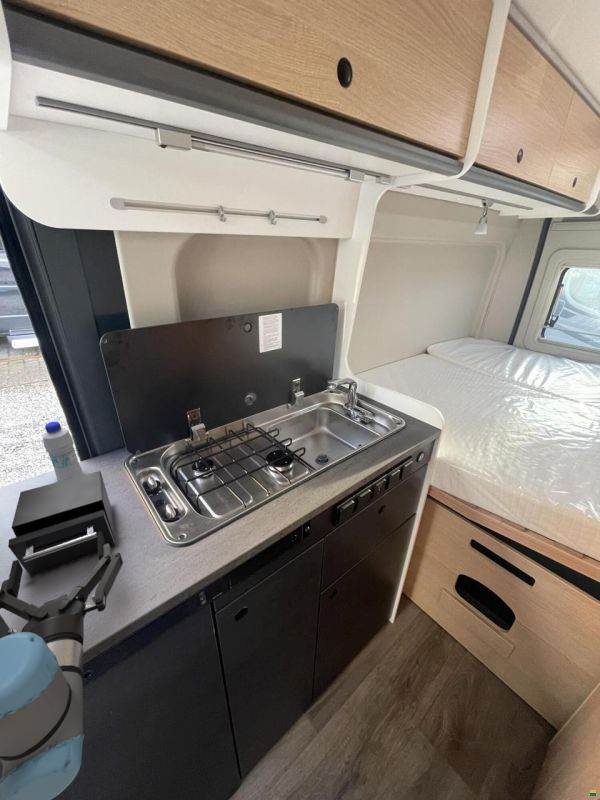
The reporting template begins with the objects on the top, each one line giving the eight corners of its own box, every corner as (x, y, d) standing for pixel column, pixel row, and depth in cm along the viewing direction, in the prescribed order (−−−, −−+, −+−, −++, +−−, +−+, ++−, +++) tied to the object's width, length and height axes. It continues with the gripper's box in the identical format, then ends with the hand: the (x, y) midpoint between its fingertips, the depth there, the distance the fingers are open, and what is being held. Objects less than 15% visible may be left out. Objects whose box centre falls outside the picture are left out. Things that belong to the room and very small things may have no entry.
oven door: (117, 558, 75) (105, 527, 68) (30, 591, 68) (6, 561, 60) (115, 541, 78) (103, 509, 71) (31, 571, 71) (8, 539, 63)
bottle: (82, 485, 96) (63, 426, 88) (55, 490, 94) (33, 430, 86) (86, 471, 102) (68, 415, 94) (61, 476, 100) (40, 419, 91)
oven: (115, 541, 78) (102, 499, 73) (32, 571, 71) (11, 527, 65) (112, 509, 88) (100, 470, 82) (38, 533, 80) (20, 491, 75)
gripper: (-52, 724, 44) (-14, 592, 60) (148, 627, 55) (134, 538, 72) (-79, 696, 41) (-31, 564, 57) (140, 598, 52) (127, 513, 69)
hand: (61, 550), depth 64 cm, fingers open, 13 cm apart
